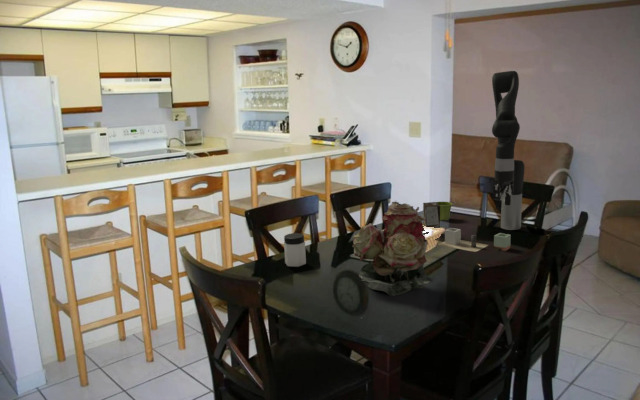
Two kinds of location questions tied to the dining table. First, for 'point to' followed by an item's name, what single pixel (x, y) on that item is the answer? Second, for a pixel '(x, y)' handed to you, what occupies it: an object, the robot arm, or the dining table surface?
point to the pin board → (467, 245)
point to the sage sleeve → (502, 241)
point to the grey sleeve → (452, 236)
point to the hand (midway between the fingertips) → (503, 207)
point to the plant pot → (444, 210)
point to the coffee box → (431, 214)
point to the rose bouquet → (394, 251)
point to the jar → (294, 250)
